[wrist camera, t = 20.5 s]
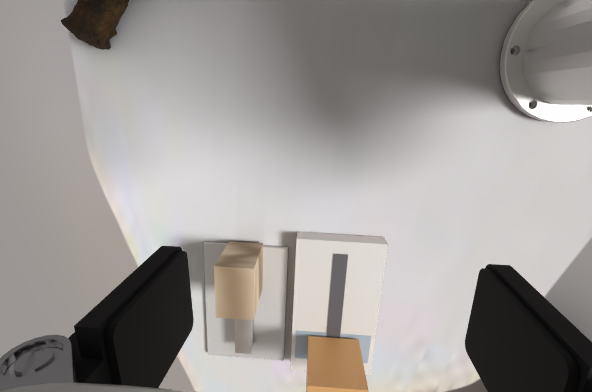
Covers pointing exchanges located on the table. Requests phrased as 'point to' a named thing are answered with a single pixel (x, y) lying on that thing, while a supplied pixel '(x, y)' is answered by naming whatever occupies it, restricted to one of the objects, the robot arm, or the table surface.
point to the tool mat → (267, 314)
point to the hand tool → (95, 21)
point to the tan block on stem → (239, 289)
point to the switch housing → (336, 291)
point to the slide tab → (335, 365)
